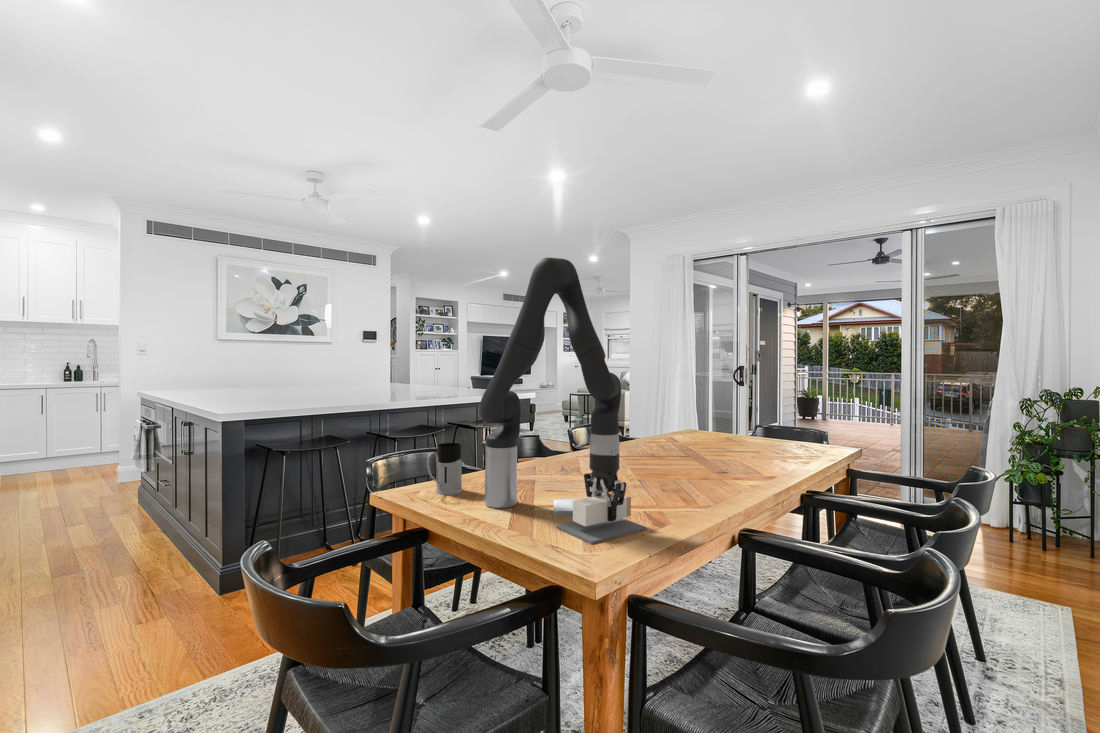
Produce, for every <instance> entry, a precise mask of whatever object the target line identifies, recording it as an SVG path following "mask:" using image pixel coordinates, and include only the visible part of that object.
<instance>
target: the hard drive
mask: <svg viewBox="0 0 1100 733" xmlns="http://www.w3.org/2000/svg"><path fill="white" fill-rule="evenodd" d="M575 500H581V498H570V499H569V498H559V499H558V498H557V499H553V500H552V504H553V505H552V506H553V512H554V513H553V514H554V516H573V501H575Z"/></svg>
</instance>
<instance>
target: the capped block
mask: <svg viewBox="0 0 1100 733" xmlns="http://www.w3.org/2000/svg"><path fill="white" fill-rule="evenodd" d="M618 500H619V498H618ZM611 501H613V498H612V497H611ZM631 514H632V496H631V495H628V494H625V496H624V501H623V505H618V506H617V517H616V519H620V518H623V519H625V518H628V517H631V516H632V515H631ZM607 516H608V503H607V499H606V498H605V497H604V494H602V496H596V497H591V498H590V497H586V498H580V500H575V501H573V515H572V522H573V521H574V522H576V523H578V524H581V525H583V526H585V527H586V526H590V525H594V524H599V523H603V522H607V521H608V520H607Z"/></svg>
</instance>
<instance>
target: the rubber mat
mask: <svg viewBox="0 0 1100 733" xmlns="http://www.w3.org/2000/svg"><path fill="white" fill-rule="evenodd" d="M555 528H556V529H558V530H560V531H561V532H564V533H566V534H569V535H570V536H573V537H575V538H577V539H580V540H581V541H583V542H586V543H588V544H590V545H593V544H599V543H602V542H606V541H608V540H612V539H616V538H621V537H624V536H627V535H631V534H635V533H639V532H642V531H646V530H647V528H648V527H647V526H645V525H642V524H639V523H637V522H634V521H632V520H628V519H626V518H620V519H616V520H615V521H612V522H609V521H607V522H603V523H599V524H594V525H590V526H586V527H585V526H583V525H581V524H578V523H576V522H574V521H573V520H572V521H569V522H564V523H560V524H557V525H555Z"/></svg>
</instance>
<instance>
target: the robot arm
mask: <svg viewBox="0 0 1100 733" xmlns="http://www.w3.org/2000/svg"><path fill="white" fill-rule="evenodd" d="M554 295H557V296H558V297H559V299H560V300H561V303H562V304H563V306H564V309H565V313H566V317H567V329H568V330H567V332H568V338H569V341H570V345H571V347H572V350H573V351H574V354H575V356H576V358H577V361H578V363H579V365H580V368H581V372H582V376H583V380H584V385H585V386H586V389H587V391H588V394H590V396H591V397H592V398H593V399H594V409H593V410H592V412H591V415H590V438H589V469H590V471H591V472H589V473H583V480H584V486H585V493H586V498H591V497H596V496H602V495H604V497H605V498H606V499H607V503H608V516H607V520H608V521H609V522H612V521H615V520H616V517H617V506H618V505H623V501H624V496H625V495H626V490H627V489H626V488H627V483H626V482H625V481H623V482H622V481H620V480H619V478H618V472H619V470H620V436H619V435H620V434H619V423H620V422H619V411H620V406H621V398H622V383H621V380H620V378H619V377H618V376H617V374H615V373H613V372H610V370H609V367H608V365H607V362H606V360H605V359H606V353H605V350H604V348H603V345H602V342H601V341H600V337H599V336H598V334H597V332H596V329H595V327H594V325H593V321H592V319H591V316H590V314H589V310H588V307H587V304H586V303H587V302H586V300H585V295H584V294H583V290H582V287H581V282H580V278H579V274H578V271H577V268H576V266H575V265H574V263H572V262H571V261H570V260H569V259H565V258H562V257H561V258H560V257H559V258H558V257H544V258H541V259H540V260H539V261H538V262H537V263H536V264H535V266H534V268H533V269H532V271H531V275H530V278H529V282H528V286H527V289H526V292H525V296H524V299H523V302H522V306H521V308H520V310H519V313H518V316H517V319H516V320H515V324H514V326H513V328H512V330H511V333H510V335H509V337H508V340H507V343H506V345H505V348H504V351H503V353H502V356H501V358H500V361H499V363H498V365H497V368H496V370H495V372H494V374H493V376H492V377H491V380H490V382H489V383H488V384H487V386H486V388H485V391H484V393H483V395H482V397H481V400H480V403H479V416H480V418H481V420H482V421H483V422H484V423H487V424H497V427H496V428H495V429H494V430H493V431H492V432H490V433H489V434H487V436H486V437H485V470H484V502H485V505H486V507H489V508H493V509H504V508H505V509H506V508H507V509H508V508H512V507H514V506H516V505H517V504H518V440H519V437H520V432H521V431H520V430H521V419H522V418H521V417H522V415H521V413H522V411H521V410H522V409H521V408H522V407H521V405H522V404H521V401H520V398H519V396H518V394H517V393H516V392H515V391H512V390H511V388H512V387H513V386H514V384H515V383H516V382H517V381H518V380H519V379H520V378H521V377H522V376H524V375H525V373H527V372H528V370H530V369H531V367H533V365H534V364H535V362H537V361H536V360H537V359H538V356H539V354H540V352H541V350H542V347H543V345H544V341H545V338H546V337H545V334H546V332H545V331H546V330H545V328H546V327H545V317H546V316H545V315H546V312H547V310H548V307H549V305H550V303H551V301H552V299H553V298H554ZM611 497H612V498H613V501H611ZM618 498H619V500H618Z"/></svg>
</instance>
